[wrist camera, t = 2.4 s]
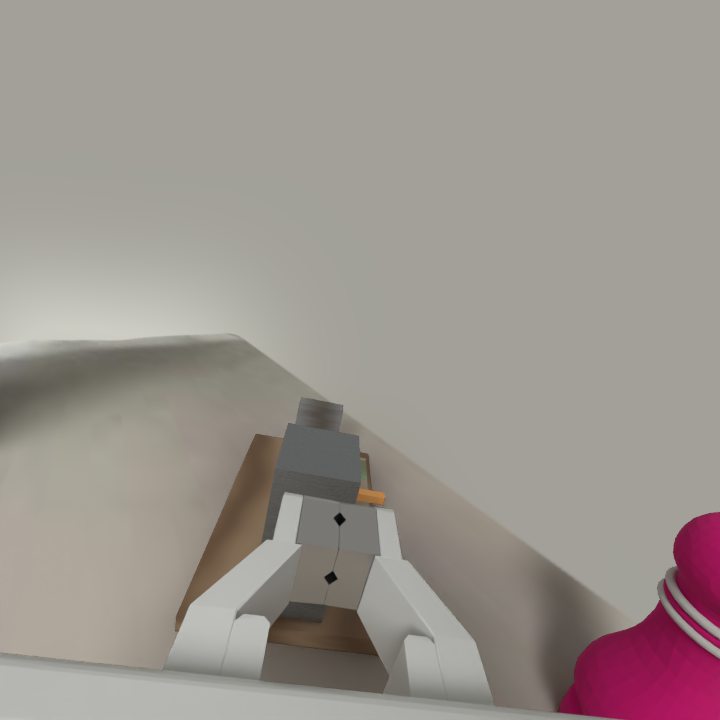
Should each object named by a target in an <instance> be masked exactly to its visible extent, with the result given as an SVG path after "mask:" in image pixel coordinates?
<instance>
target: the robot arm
mask: <svg viewBox="0 0 720 720" xmlns="http://www.w3.org/2000/svg"><path fill="white" fill-rule="evenodd" d="M289 601H292V602H302V603H312V604H322V605H323V604H324V605H328V606H335V607H341V608H347V609H353V610H357V613H358V615H359V617H360V619H361V621H362V623H363V625H364V627H365V629H366V631H367V633H368V635H369V637H370V639H371V641H372V643H373V645H374V647H375V649H376V651H377V653H378V655H379V657H380V659H381V661H382V663H383V665H384V667H385V669H386V671H387V673H388V675H389V679H388V681H387V684H386V686H385V689H384V691H383V694H379V693H370V692H361V691H351V690H342V689H333V688H324V687H315V686H306V685H296V684H287V683H278V682H269V681H260V676H261V670H262V665H263V659H264V654H265V648H266V643H267V638H268V632H269V628H270V627H271V626H272V624H273V623H274V622H275V621H276V619H277V618H278V617H279V615H280V614H281V613H282V612H283V610H284V609H285V608H286V606H287V605H288V604H289ZM0 720H622V719H612V718H603V717H594V716H585V715H576V714H566V713H557V712H548V711H539V710H529V709H520V708H511V707H501V706H495V704H494V701H493V698H492V694H491V691H490V688H489V685H488V681H487V678H486V675H485V671H484V668H483V665H482V662H481V658H480V655H479V652H478V648H477V645H476V642H475V641H474V639H473V638H472V637H471V636H470V635H469V633H468V632H467V631H466V630H465V628H464V627H463V626H462V625H461V624H460V622H459V621H458V620H457V619H456V618H455V616H454V615H453V614H452V613H451V612H450V610H449V609H448V608H447V607H446V606H445V604H444V603H443V602H442V601H441V600H440V598H439V597H438V596H437V595H436V594H435V592H434V591H433V590H432V589H431V588H430V586H429V585H428V584H427V583H426V582H425V580H424V579H423V578H422V577H421V576H420V574H419V573H418V572H417V571H416V570H415V568H414V567H413V566H412V565H411V564H410V562H409V561H408V560H403V559H402V553H401V548H400V542H399V536H398V530H397V524H396V518H395V512H394V511H393V509H386V508H379V507H375V508H374V507H369V506H363V505H357V504H350V503H344V502H338V501H332V500H327V499H322V498H316V497H311V496H306V495H304V496H303V495H299V494H293V493H288V492H285V493H284V495H283V499H282V503H281V507H280V511H279V515H278V520H277V524H276V528H275V532H274V537H273V540H266V541H264V542H263V543H262V544H261V545H260V546H259V547H257V548H256V549H255V550H254V551H253V552H252V553H250V554H249V555H248V556H247V557H246V558H244V559H243V560H242V561H241V562H240V563H239V564H237V565H236V566H235V567H234V568H233V569H231V570H230V571H229V572H228V573H227V574H226V575H224V576H223V577H222V578H221V579H220V580H218V581H217V582H216V583H215V584H214V585H213V586H211V587H210V588H209V589H208V590H207V591H205V592H204V593H203V594H202V595H201V596H200V597H198V598H197V599H196V600H195V601H194V602H193V603H191V604H190V606H189V608H188V611H187V613H186V615H185V618H184V620H183V623H182V625H181V627H180V630H179V632H178V634H177V637H176V639H175V642H174V644H173V646H172V649H171V651H170V653H169V656H168V658H167V661H166V663H165V665H164V668H163V670H158V669H149V668H139V667H130V666H121V665H112V664H102V663H93V662H84V661H75V660H65V659H56V658H47V657H38V656H28V655H19V654H10V653H1V652H0Z"/></svg>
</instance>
